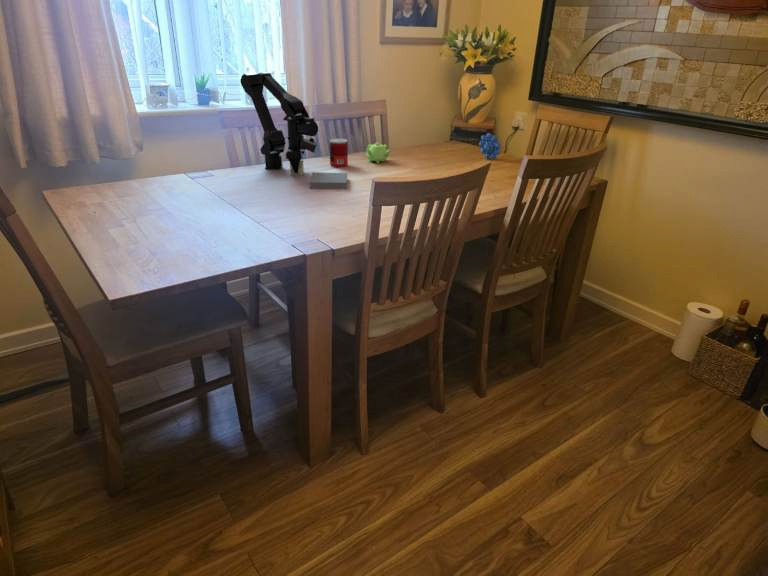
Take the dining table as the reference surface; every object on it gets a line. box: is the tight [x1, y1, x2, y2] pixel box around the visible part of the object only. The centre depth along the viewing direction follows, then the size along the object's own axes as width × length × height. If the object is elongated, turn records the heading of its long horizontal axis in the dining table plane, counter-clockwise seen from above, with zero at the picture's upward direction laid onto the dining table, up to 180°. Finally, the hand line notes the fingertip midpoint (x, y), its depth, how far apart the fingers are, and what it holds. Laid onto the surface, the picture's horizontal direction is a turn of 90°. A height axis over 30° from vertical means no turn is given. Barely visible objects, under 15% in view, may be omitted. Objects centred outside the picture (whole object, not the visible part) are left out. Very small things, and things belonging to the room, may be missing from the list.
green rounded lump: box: [365, 142, 392, 164], centre depth 234 cm, size 11×12×8 cm
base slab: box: [309, 172, 348, 190], centre depth 201 cm, size 14×14×2 cm
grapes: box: [478, 132, 502, 160], centre depth 243 cm, size 12×7×12 cm, turn 50°
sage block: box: [289, 159, 305, 176], centre depth 212 cm, size 5×5×5 cm
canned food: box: [329, 138, 349, 168], centre depth 225 cm, size 8×8×11 cm
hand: (297, 171), depth 212 cm, fingers closed on sage block, 5 cm apart
